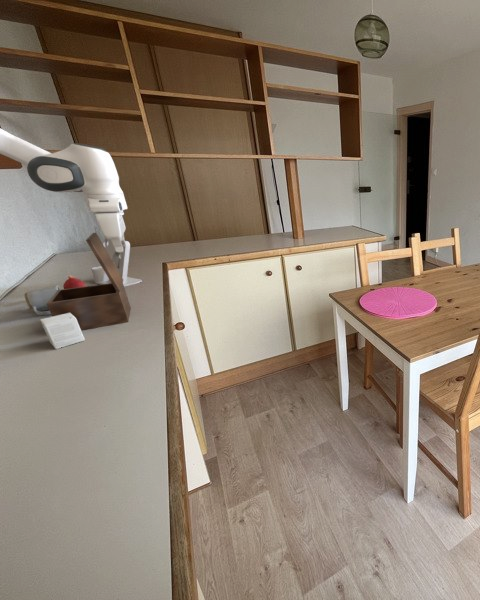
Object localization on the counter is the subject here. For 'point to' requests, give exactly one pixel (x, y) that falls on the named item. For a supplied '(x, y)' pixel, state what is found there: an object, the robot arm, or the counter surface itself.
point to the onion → (73, 283)
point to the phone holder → (118, 262)
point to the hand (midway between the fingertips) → (121, 248)
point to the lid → (105, 261)
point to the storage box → (92, 305)
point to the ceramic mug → (40, 299)
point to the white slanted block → (62, 330)
